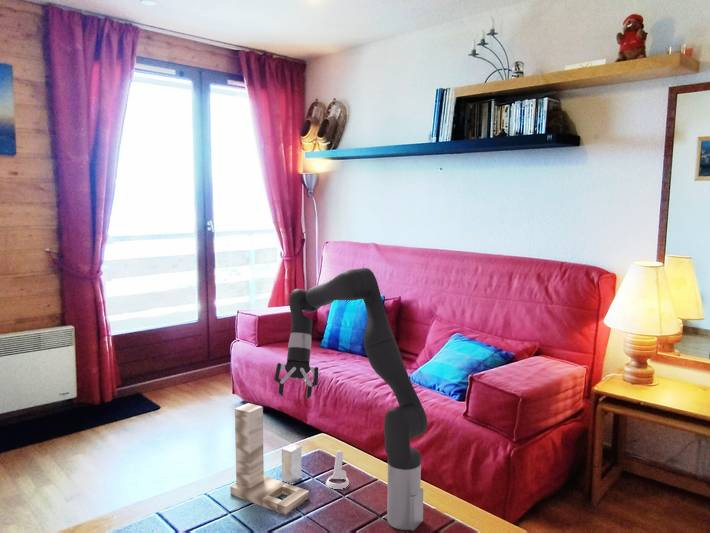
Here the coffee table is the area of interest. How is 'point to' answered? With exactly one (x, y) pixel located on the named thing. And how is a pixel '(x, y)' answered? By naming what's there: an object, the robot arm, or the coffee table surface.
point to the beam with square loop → (259, 466)
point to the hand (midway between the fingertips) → (294, 397)
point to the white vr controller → (338, 473)
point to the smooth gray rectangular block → (291, 463)
